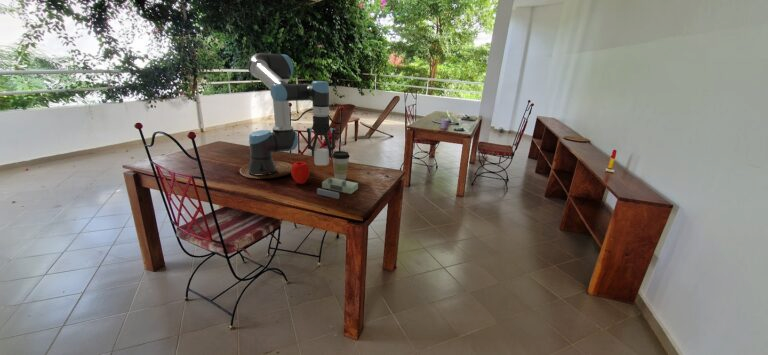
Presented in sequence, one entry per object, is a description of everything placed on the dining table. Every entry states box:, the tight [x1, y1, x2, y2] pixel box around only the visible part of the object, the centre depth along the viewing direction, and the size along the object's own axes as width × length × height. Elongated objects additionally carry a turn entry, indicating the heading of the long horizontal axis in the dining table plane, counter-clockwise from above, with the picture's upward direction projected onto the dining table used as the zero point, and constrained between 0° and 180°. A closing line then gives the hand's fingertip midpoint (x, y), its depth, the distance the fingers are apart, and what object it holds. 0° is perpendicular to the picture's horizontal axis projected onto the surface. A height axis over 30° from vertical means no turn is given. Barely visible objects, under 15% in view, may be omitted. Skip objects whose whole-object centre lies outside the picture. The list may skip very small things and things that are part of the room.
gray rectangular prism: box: [315, 147, 328, 166], centre depth 160 cm, size 6×6×7 cm
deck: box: [316, 177, 359, 200], centre depth 169 cm, size 17×17×6 cm
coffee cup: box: [331, 150, 350, 181], centre depth 185 cm, size 10×10×15 cm
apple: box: [290, 160, 311, 185], centre depth 176 cm, size 10×10×12 cm
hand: (321, 162), depth 162 cm, fingers closed on gray rectangular prism, 5 cm apart
